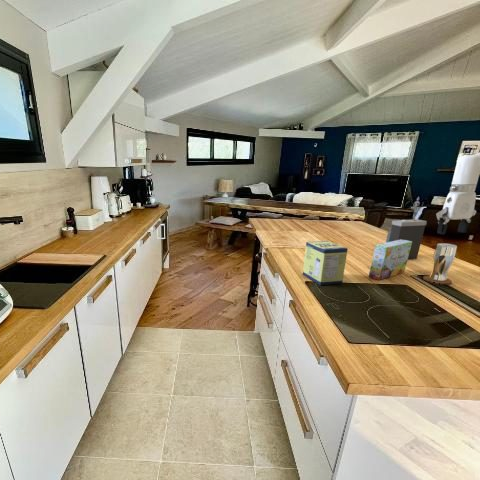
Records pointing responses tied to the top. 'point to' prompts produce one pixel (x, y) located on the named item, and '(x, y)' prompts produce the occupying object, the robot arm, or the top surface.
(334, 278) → the protein box
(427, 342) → the top surface
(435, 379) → the top surface
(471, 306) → the top surface
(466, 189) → the robot arm
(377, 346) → the top surface
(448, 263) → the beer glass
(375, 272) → the snack box
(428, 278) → the coaster
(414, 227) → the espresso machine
